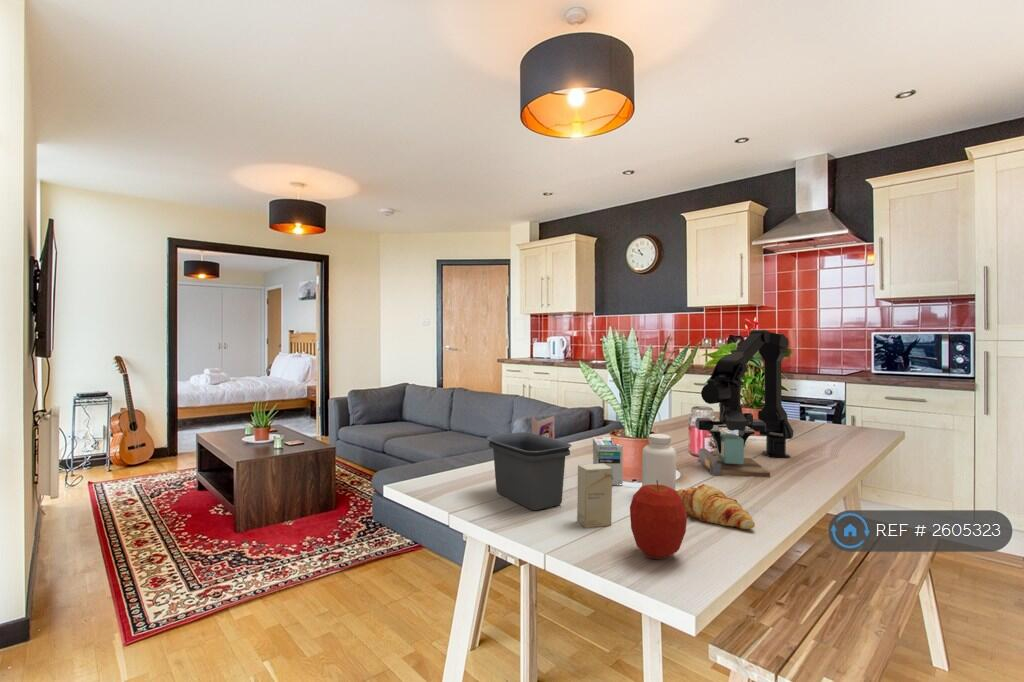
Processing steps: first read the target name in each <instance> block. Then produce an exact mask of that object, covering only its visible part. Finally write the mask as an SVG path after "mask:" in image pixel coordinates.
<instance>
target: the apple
mask: <svg viewBox="0 0 1024 682" xmlns="http://www.w3.org/2000/svg"><path fill="white" fill-rule="evenodd" d="M656 482H657V485H645V486H642V485H641V487H640V488H639V489H638V490H637V491H636V492H635V493H634V494H633V496H632V499H631V503H630V505H629V514H630V528H631V533H632V535H633V538H634V541H635V543H636V547H637V548H638V549H639V550H640V551H641V552H642V553H643V554H644V555H645V556H646V557H647V558H650V559H653V560H663V559H666V558H669V557H671V556H672V555H674V554H675V553H677V552H678V551H679V550H680V548H681V546H682V543H683V540H684V537H685V534H686V532H687V523H688V522H687V521H688V520H687V519H688V514H687V512H686V509H685V507H684V504H683V501H682V499H681V497H680V496H679V495H678V493H677V492H676V491H677V490H676V489H675V490H676V491H675V490H674V489H672V488H669V487H667V486H664V485H658V480H657V481H656Z"/></svg>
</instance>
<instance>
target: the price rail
mask: <svg viewBox="0 0 1024 682" xmlns="http://www.w3.org/2000/svg"><path fill="white" fill-rule="evenodd" d="M715 457H716V456H714V455H713V454H712V453H711V452H710V451H709V450H708V449H707V448H703V447H702V448H699V449H698V460H699V461H700V462H701V463H702V464H703V466H704V467H705V468H706V469H707V470H708V471H709V473H711V475H712V474H713V475H718V477H721V476H722V475H721V463H720V462H719V461H718V460H717V459H716V458H715ZM713 475H712V476H713Z"/></svg>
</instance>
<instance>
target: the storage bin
mask: <svg viewBox="0 0 1024 682" xmlns="http://www.w3.org/2000/svg"><path fill="white" fill-rule="evenodd" d="M486 439H487V440H488V441H489V442H488V447H489V448H491V449H492V453H493V463H494V472H495V473H494V475H495V476H494V477H495V488H496V493H497V492H498V494H499V493H500V494H499V495H501V496H503V497H505V498H508V499H509V500H511V501H513V502H515V503H517V504H519V505H522V506H523V507H526V508H527V509H529V510H531V511H532V510H533V511H539V510H543V509H547V508H552V507H556V506H559V505H561V504H562V503H563V492H564V479H565V467H566V466H565V464H566V457H568V456H570V455H571V450H570V448H571V447H572V446H573V444H571V443H569V442H565V441H563V440H559V439H555V438H554V439H552V438H548V437H545V436H541V435H537V434H534V433H532V432H527V431H523V432H521V431H520V432H511V433H503V434H494V435H493V434H492V435H489V436H487V438H486Z"/></svg>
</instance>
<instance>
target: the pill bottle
mask: <svg viewBox="0 0 1024 682" xmlns="http://www.w3.org/2000/svg"><path fill="white" fill-rule="evenodd" d="M647 440H648V444H647V445H645V446H644V447H643V449H642V463H641V464H642V465H641V467H642V468H641V487H642V486H645V485H657V482H656V481H657V480H658V485H664V486H667V487H669V488H672V489H674V490H676V483H677V482H676V478H677V477H676V473H677V452H676V450H675V448H673V447H672V446H671V443H672V437H671V435H669V434H664V433H651V434H650V433H649V435H648V439H647Z"/></svg>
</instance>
